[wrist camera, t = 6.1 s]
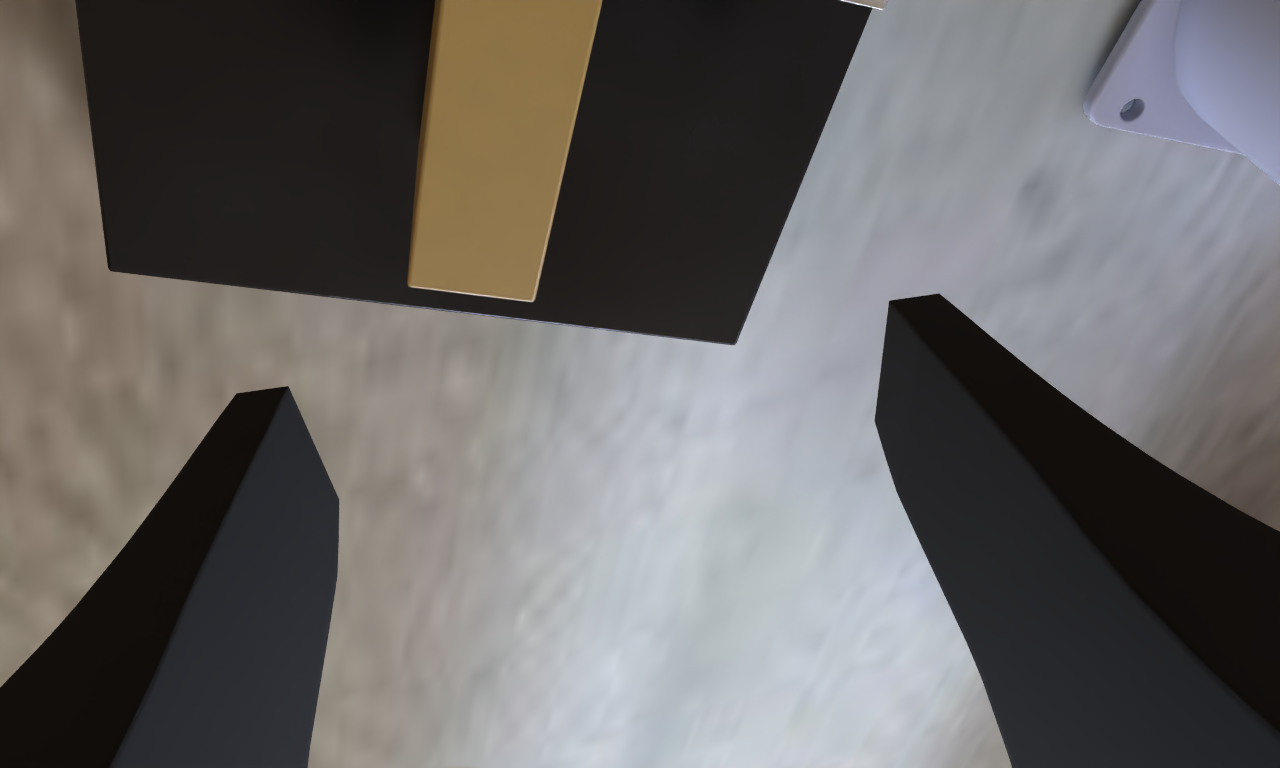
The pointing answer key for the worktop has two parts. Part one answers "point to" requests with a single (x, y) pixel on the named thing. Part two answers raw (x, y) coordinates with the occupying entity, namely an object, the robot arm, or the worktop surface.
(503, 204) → the yellow-brown long block
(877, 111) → the worktop surface
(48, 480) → the worktop surface
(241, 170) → the black cupboard
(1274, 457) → the worktop surface
